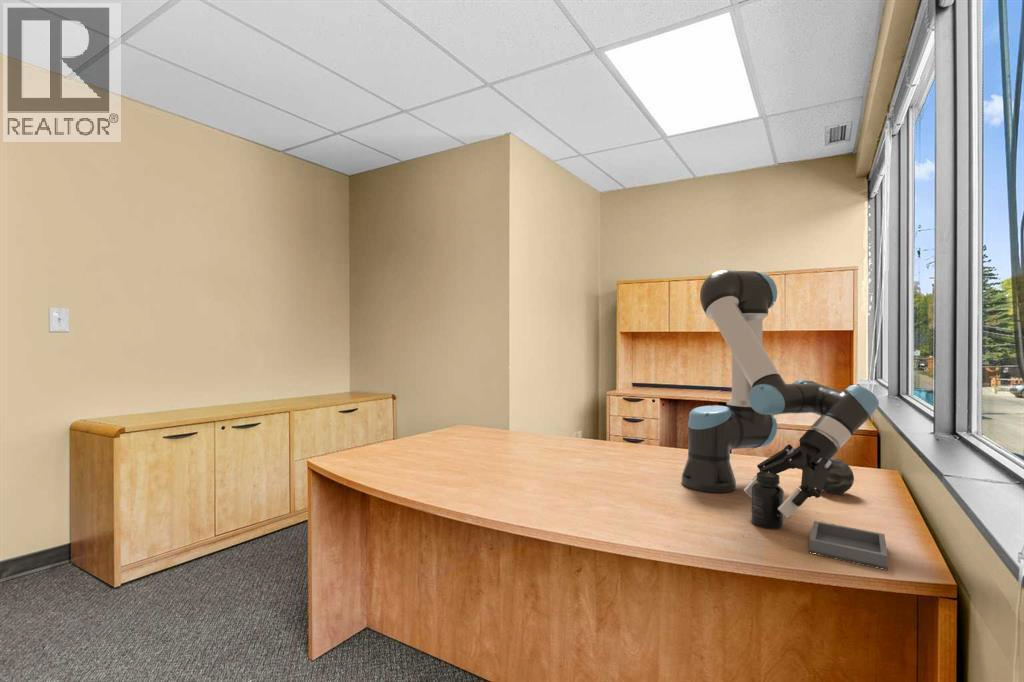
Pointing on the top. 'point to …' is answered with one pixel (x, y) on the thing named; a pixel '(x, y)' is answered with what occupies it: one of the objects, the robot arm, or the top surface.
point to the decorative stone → (839, 478)
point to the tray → (849, 544)
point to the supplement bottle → (767, 501)
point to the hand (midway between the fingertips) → (763, 503)
